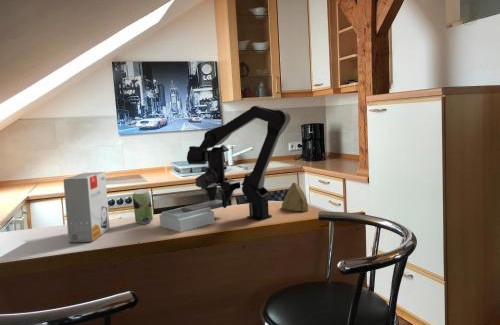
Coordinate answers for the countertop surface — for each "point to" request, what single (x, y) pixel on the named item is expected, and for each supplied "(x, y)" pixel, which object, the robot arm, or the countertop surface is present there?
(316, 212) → the countertop surface
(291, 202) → the rock
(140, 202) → the beverage can
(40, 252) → the countertop surface
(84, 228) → the hard drive box
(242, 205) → the countertop surface
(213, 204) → the cover plate
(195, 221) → the lidded box
